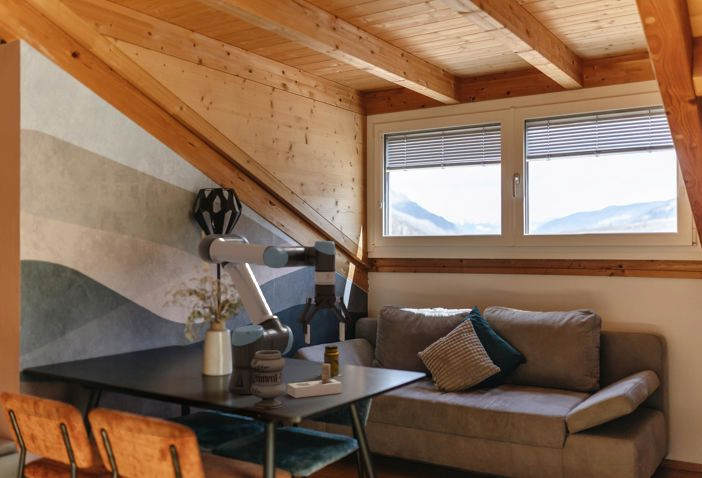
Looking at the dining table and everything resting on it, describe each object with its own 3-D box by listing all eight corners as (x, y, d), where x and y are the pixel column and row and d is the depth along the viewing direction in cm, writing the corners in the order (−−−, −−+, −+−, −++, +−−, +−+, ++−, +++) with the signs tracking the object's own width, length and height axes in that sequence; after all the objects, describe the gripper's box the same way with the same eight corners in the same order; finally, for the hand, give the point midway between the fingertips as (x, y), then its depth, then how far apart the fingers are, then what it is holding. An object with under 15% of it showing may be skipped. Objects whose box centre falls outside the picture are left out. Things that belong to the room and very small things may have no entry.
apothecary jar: (250, 410, 232) (249, 355, 232) (250, 402, 244) (249, 349, 244) (287, 408, 234) (287, 353, 234) (285, 400, 246) (284, 348, 246)
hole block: (295, 397, 250) (295, 387, 250) (287, 393, 258) (287, 383, 258) (342, 392, 258) (342, 383, 258) (333, 388, 265) (333, 379, 265)
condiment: (343, 375, 291) (342, 346, 291) (325, 378, 286) (325, 348, 286) (333, 373, 297) (333, 344, 297) (316, 375, 292) (315, 346, 292)
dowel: (324, 393, 258) (323, 365, 258) (320, 391, 260) (320, 364, 260) (331, 392, 259) (331, 364, 259) (328, 390, 262) (328, 363, 262)
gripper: (296, 285, 251) (296, 345, 251) (360, 283, 262) (360, 341, 262) (289, 283, 258) (289, 342, 258) (351, 281, 268) (351, 338, 269)
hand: (324, 341), depth 260 cm, fingers open, 13 cm apart
